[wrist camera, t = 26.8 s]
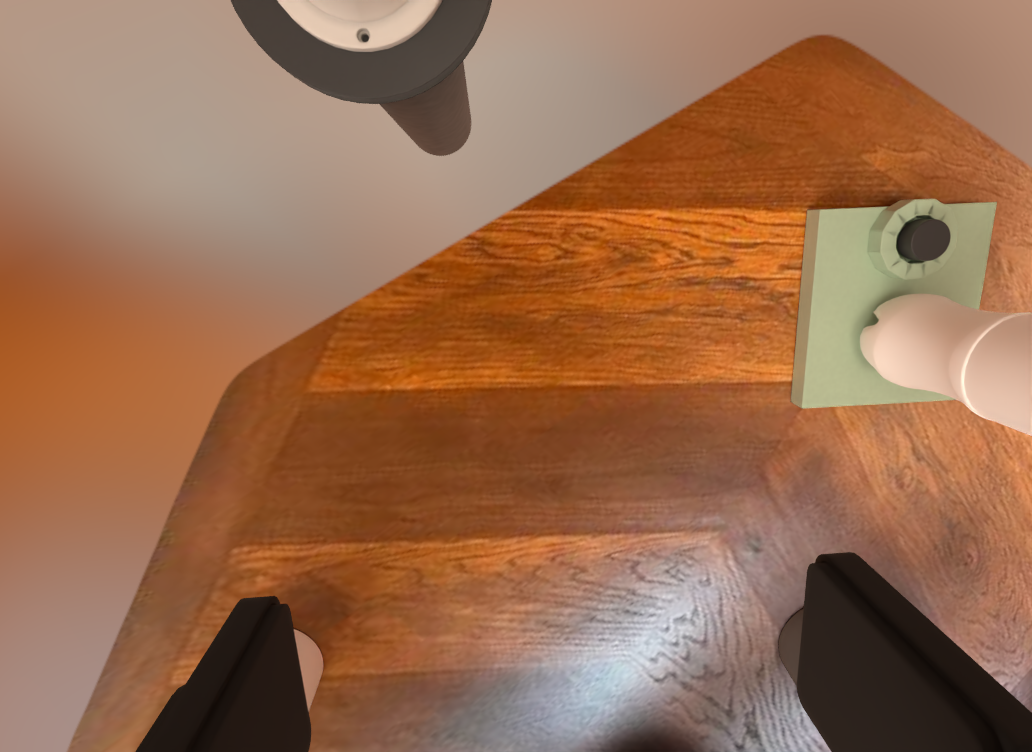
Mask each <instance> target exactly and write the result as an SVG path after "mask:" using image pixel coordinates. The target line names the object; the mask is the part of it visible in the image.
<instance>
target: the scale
mask: <svg viewBox="0 0 1032 752" xmlns="http://www.w3.org/2000/svg"><path fill="white" fill-rule="evenodd" d="M996 205H997V202H979V203H955V204H943V203H941V202H940V201H938V200H936V199H910V200H900V201H898V202H896V203H895V204H893V205H892V206H885V207H861V208H838V209H815V210H807V218H806V230H805V241H804V253H803V264H802V276H801V288H800V299H799V311H798V322H797V334H796V345H795V357H794V369H793V380H792V392H791V402H792V403H794V404H795V405H797V406H799V407H800V408H819V407H837V406H855V405H872V404H890V403H908V402H926V401H944V400H956V399H954V398H951V397H949V396H946V395H943V394H940V393H936V392H932V391H927V390H921V389H912V388H906V387H903V386H900V385H897V384H894V383H892V382H890V381H888V380H886V379H884V378H883V377H882V376H881V375H880V374H879V373H878V372H877V371H876V369H875V368H874V367H873V366H872V365H871V364H870V363H869V362H868V361H867V360H866V358H865V357H864V355H863V353H862V351H861V348H860V335H861V333H862V330H863V329H864V328H865V327H867V326H872V325H875V324H877V323H878V321H879V319H878V318H877V317H876V315H875V314H874V311H875V310H876V309H877V307H878V306H880V305H881V304H883V303H885V302H886V301H889V300H891V299H893V298H896V297H899V296H903V295H908V294H934V295H940V296H944V297H946V298H948V299H950V300H951V301H954V302H956V303H958V304H960V305H963V306H966V307H970V308H974V309H979V307H980V301H981V295H982V289H983V283H984V277H985V271H986V265H987V259H988V253H989V247H990V241H991V235H992V229H993V223H994V217H995V211H996ZM917 219H937V220H941V221H943V222H944V223H945V224H946V225H947V226H948V228H949V230H950V234H951V239H950V243H949V246H948V248H947V250H946V251H945V252H944V253H943V254H942V255H941V256H940V257H938V258H936V259H934V260H931V261H920V260H910V259H907V258H905V257H904V256H903V255H902V254H901V253H900V252H899V249H898V244H897V242H898V237H899V234H900V232H901V230H902V229H903V228H904V227H905V226H906V225H907V224H908V223H910V222H911V221H914V220H917Z"/></svg>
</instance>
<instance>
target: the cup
mask: <svg viewBox="0 0 1032 752" xmlns="http://www.w3.org/2000/svg"><path fill="white" fill-rule="evenodd" d="M294 634H295V640H296V645H297V651H298V656H299V662H300V668H301V673H302V679H303V684H304V690H305V696H306V701H307V707H308V712H309V709H310V706H311V704H312V701H313V698H314V695H315V692H316V690H317V687H318V684H319V681H320V678H321V675H322V672H323V657H322V654H321V652H320V650H319V648H318V646H317V645H316V644H315V642H314V641H313V640H312V639H311V638H309V637H308V636H307V635H305V634H304V633H302V632H300V631H298V630H295V629H294Z"/></svg>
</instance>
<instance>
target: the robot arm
mask: <svg viewBox="0 0 1032 752" xmlns="http://www.w3.org/2000/svg"><path fill="white" fill-rule="evenodd" d="M277 1H278V2H279V3H280V5H281V6H282V7H283V8H284V9H285V11H286V12H287V13H288V14H289V15H290V16H291V18H292V19H293V20H294V21H295V22H297V23H298V24H299V25H300V26H301V27H302V28H303V29H304V30H306V31H307V32H308V33H310V34H311V35H313V36H314V37H316V38H317V39H319V40H320V41H323V42H325V43H327V44H329V45H332V46H334V47H336V48H340V49H344V50H349V51H353V52H374V51H380V50H385V49H389V48H392V47H394V46H396V45H399V44H401V43H403V42H405V41H407V40H408V39H410V38H411V37H412V36H414V35H415V34H417V33H418V32H419V31H420V30H421V29H422V28H423V27H424V26H425V25H426V24H427V23H428V22H429V21H430V20H431V19H432V17H433V15H434V14H435V12H436V11H437V9H438V7H439V6H440V4H441V3H442V0H277ZM365 35H367V36H369V40H368V41H367V42H363V41H362V38H363V36H365ZM797 692H798V696H799V699H800V702H801V704H802V706H803V708H804V710H805V711H806V713H807V714H808V716H809V717H810V719H811V721H812V722H813V724H814V725H815V727H816V728H817V730H818V731H819V733H820V734H821V736H822V737H823V739H824V741H825V742H826V744H827V745H828V747H829V748H830V750H831V751H832V752H1032V713H1031V712H1030V711H1029V710H1028V709H1027V708H1026V707H1025V706H1024V705H1022V704H1021V703H1020V702H1019V701H1018V700H1017V699H1016V698H1015V697H1014V696H1013V695H1011V694H1010V693H1009V692H1008V691H1007V690H1006V689H1005V688H1004V687H1003V686H1002V685H1000V684H999V683H998V682H997V681H996V680H995V679H994V678H993V677H992V676H991V675H989V674H988V673H987V672H986V671H985V670H984V669H983V668H982V667H981V666H979V665H978V664H977V663H976V662H975V661H974V660H973V659H972V658H971V657H970V656H968V655H967V654H966V653H965V652H964V651H963V650H962V649H961V648H960V647H959V646H957V645H956V644H955V643H954V642H953V641H952V640H951V639H950V638H949V637H948V636H946V635H945V634H944V633H943V632H942V631H941V630H940V629H939V628H938V627H936V626H935V625H934V624H933V623H932V622H931V621H930V620H929V619H928V618H927V617H925V616H924V615H923V614H922V613H921V612H920V611H919V610H918V609H917V608H916V607H914V606H913V605H912V604H911V603H910V602H909V601H908V600H907V599H906V598H904V597H903V596H902V595H901V594H900V593H899V592H898V591H897V590H896V589H895V588H893V587H892V586H891V585H890V584H889V583H888V582H887V581H886V580H885V579H884V578H882V577H881V576H880V575H879V574H878V573H877V572H876V571H875V570H874V569H873V568H871V567H870V566H869V565H868V564H867V563H866V562H865V561H864V560H863V559H861V558H860V557H859V556H858V555H856V554H855V553H851V552H847V553H834V554H821V555H819V556H818V557H817V559H816V562H815V563H812V564H810V565H809V567H808V570H807V579H806V590H805V601H804V611H803V622H802V633H801V643H800V654H799V665H798V675H797ZM310 741H311V723H310V718H309V712H308V707H307V701H306V696H305V690H304V684H303V679H302V673H301V668H300V662H299V656H298V651H297V645H296V640H295V634H294V629H293V623H292V617H291V612H290V608H289V606H288V605H287V604H280V602H279V600H278V598H277V597H275V596H269V597H255V598H243V599H241V600H240V601H239V602H238V603H237V604H236V606H235V608H234V609H233V611H232V612H231V614H230V615H229V617H228V619H227V620H226V622H225V623H224V625H223V626H222V628H221V630H220V631H219V633H218V634H217V636H216V637H215V639H214V641H213V642H212V644H211V645H210V647H209V648H208V650H207V652H206V653H205V655H204V656H203V658H202V659H201V661H200V663H199V664H198V666H197V667H196V669H195V670H194V672H193V674H192V675H191V677H190V678H189V680H188V681H187V683H186V685H183V686H181V687H180V688H178V689H177V690H176V692H175V693H174V694H173V695H172V696H171V698H170V699H169V701H168V702H167V704H166V706H165V707H164V709H163V710H162V712H161V713H160V715H159V716H158V718H157V719H156V721H155V722H154V724H153V726H152V727H151V729H150V730H149V732H148V733H147V735H146V736H145V738H144V739H143V741H142V742H141V744H140V746H139V747H138V749H137V750H136V752H308V751H309V747H310Z"/></svg>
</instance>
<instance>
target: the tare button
mask: <svg viewBox="0 0 1032 752" xmlns="http://www.w3.org/2000/svg"><path fill="white" fill-rule="evenodd" d="M950 239H951V234H950V230H949V228H948V226H947V225H946V224H945V223H944V222H943V221H941V220H937V219H917V220H914V221H911V222H910V223H908V224H907V225H906V226H905V227H904V228H903V229H902V230H901V232H900V234H899V237H898V242H897V244H898V249H899V252H900V253H901V254H902V255H903V256H904V257H905V258H907V259H910V260H920V261H931V260H934V259H936V258H938V257H940V256H941V255H942V254H943V253H944V252H945V251H946V250H947V248H948V246H949V243H950Z"/></svg>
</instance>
